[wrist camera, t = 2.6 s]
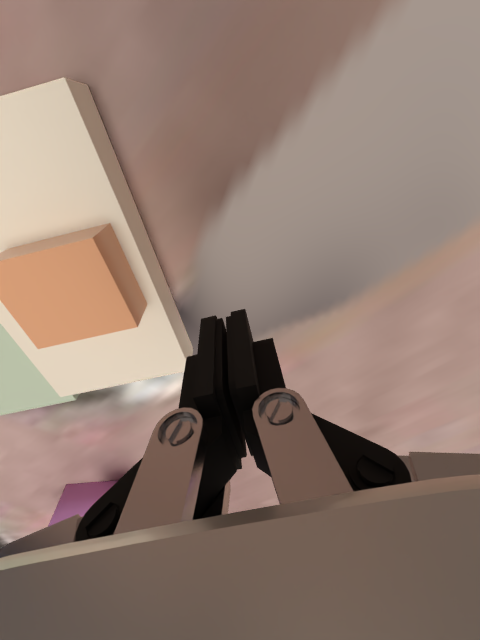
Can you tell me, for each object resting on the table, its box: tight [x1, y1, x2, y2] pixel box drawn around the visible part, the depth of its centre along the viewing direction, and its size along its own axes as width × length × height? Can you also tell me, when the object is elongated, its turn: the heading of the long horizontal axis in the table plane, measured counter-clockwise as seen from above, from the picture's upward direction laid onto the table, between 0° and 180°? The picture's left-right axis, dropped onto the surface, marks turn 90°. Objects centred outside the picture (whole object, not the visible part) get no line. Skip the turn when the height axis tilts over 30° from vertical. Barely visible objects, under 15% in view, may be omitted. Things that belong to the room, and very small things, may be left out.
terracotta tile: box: [0, 223, 147, 349], centre depth 19 cm, size 7×6×3 cm
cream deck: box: [0, 77, 193, 397], centre depth 22 cm, size 12×20×3 cm, turn 13°
